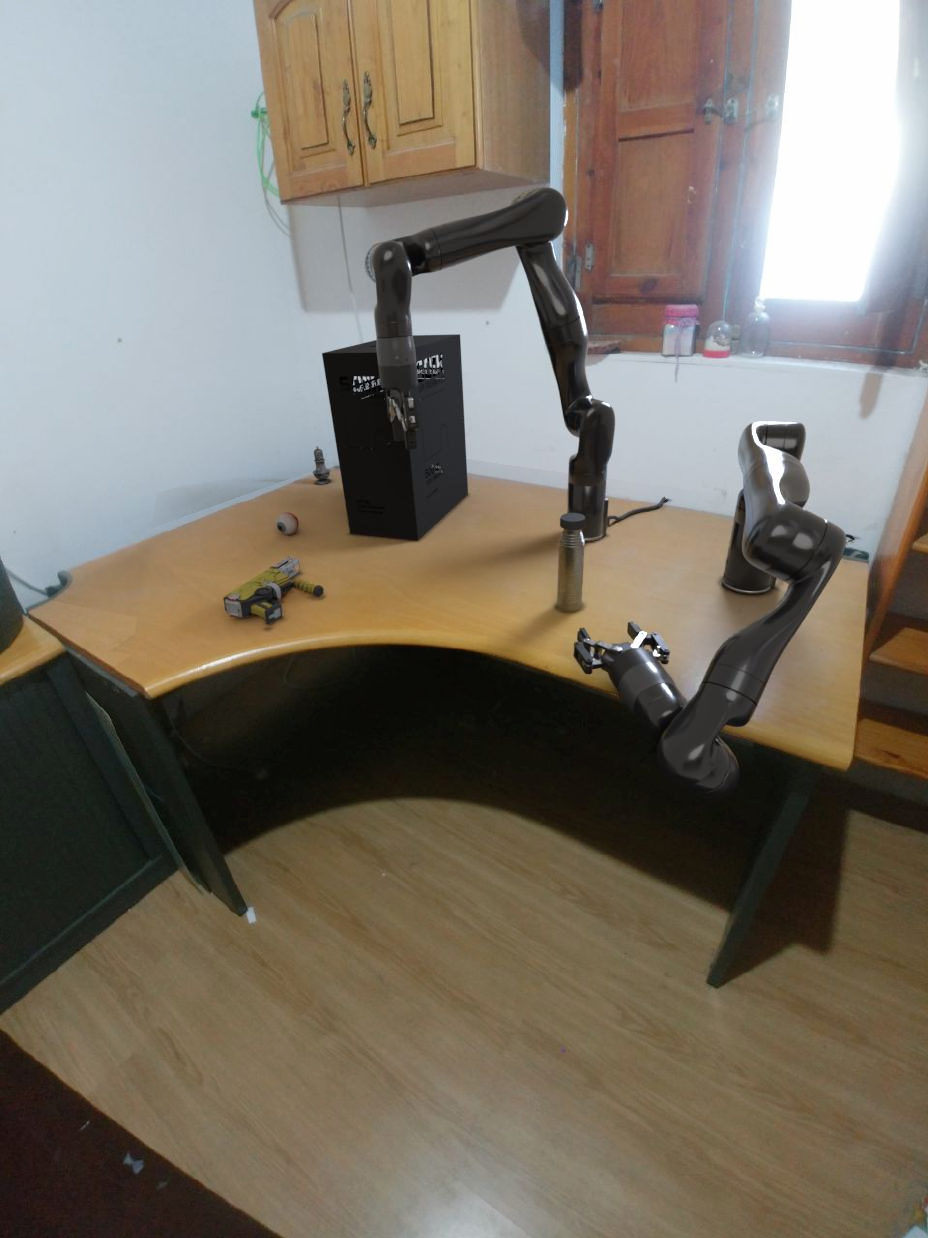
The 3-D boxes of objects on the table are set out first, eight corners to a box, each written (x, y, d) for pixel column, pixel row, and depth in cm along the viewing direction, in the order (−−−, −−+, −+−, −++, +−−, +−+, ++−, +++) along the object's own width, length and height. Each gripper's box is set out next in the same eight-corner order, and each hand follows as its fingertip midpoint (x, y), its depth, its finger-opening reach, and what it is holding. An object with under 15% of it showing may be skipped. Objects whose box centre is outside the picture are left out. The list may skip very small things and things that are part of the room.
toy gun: (343, 565, 138) (286, 554, 142) (281, 611, 118) (217, 596, 122) (343, 584, 140) (288, 572, 144) (284, 632, 120) (221, 617, 124)
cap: (572, 532, 111) (573, 523, 110) (554, 526, 114) (555, 517, 114) (590, 525, 114) (590, 517, 113) (571, 519, 117) (572, 511, 116)
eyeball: (273, 537, 164) (268, 516, 161) (287, 528, 169) (282, 508, 166) (291, 539, 161) (286, 518, 158) (305, 530, 166) (301, 510, 163)
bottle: (569, 614, 120) (573, 525, 110) (551, 605, 123) (554, 519, 114) (586, 606, 122) (591, 519, 113) (568, 597, 126) (572, 512, 116)
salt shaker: (327, 484, 203) (321, 448, 197) (311, 484, 204) (305, 448, 198) (334, 479, 208) (328, 443, 202) (318, 478, 209) (312, 443, 203)
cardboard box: (408, 489, 193) (393, 335, 171) (468, 494, 187) (460, 334, 164) (350, 533, 163) (321, 353, 141) (418, 540, 156) (400, 352, 134)
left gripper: (426, 363, 113) (433, 449, 121) (404, 356, 125) (412, 435, 133) (388, 367, 111) (397, 455, 119) (369, 359, 123) (379, 440, 131)
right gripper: (693, 657, 87) (647, 605, 101) (598, 669, 86) (565, 615, 100) (686, 698, 91) (643, 642, 105) (595, 711, 90) (564, 652, 104)
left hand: (405, 444), depth 126 cm, fingers open, 8 cm apart
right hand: (605, 629), depth 103 cm, fingers open, 8 cm apart
